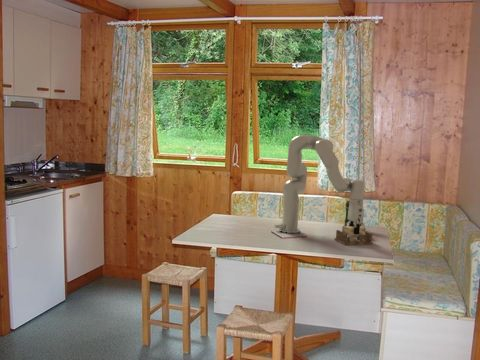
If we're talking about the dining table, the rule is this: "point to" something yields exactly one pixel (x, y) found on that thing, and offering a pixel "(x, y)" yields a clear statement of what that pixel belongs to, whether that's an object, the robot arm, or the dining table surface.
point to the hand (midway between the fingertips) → (353, 232)
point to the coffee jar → (346, 213)
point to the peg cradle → (359, 240)
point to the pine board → (350, 230)
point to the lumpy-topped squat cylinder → (354, 225)
